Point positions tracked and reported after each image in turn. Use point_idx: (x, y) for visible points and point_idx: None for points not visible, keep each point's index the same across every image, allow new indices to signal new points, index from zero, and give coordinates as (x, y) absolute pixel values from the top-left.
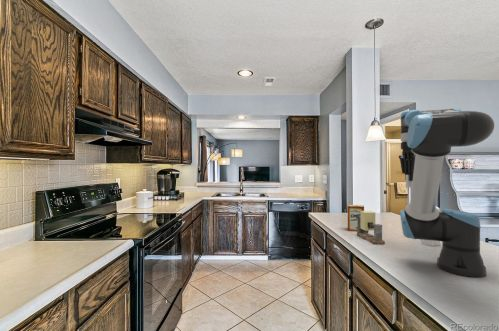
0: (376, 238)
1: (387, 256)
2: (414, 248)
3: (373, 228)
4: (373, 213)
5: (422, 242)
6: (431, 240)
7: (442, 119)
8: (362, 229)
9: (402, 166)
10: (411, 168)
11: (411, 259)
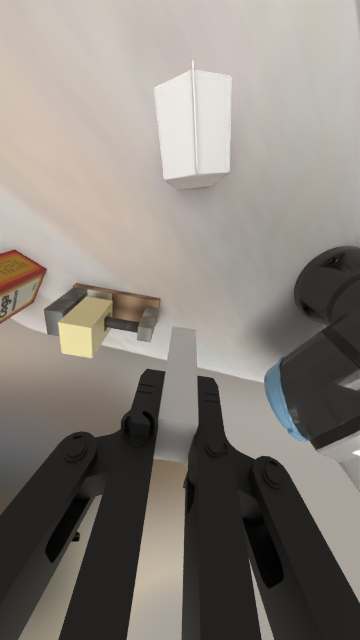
0: (155, 323)
1: (225, 348)
2: (208, 258)
3: (110, 308)
4: (93, 332)
5: (180, 189)
6: (210, 185)
7: None
8: None
9: (16, 628)
10: (261, 590)
11: (255, 323)
